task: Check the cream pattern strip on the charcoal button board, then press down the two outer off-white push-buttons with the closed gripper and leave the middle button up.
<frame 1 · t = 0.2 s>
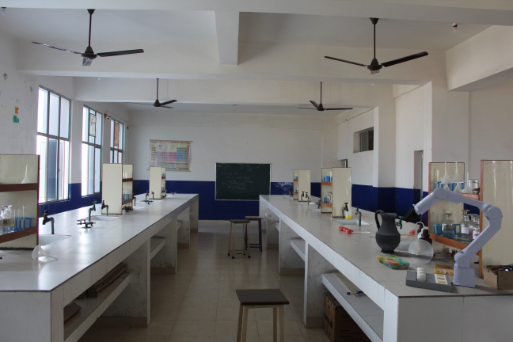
hand: (405, 220, 193), 31 cm above the table, tool tilted 45°, fingers open, 7 cm apart
puzzle game: (392, 265, 219), on the table
button 1: (421, 272, 189), point 4 cm above the table, slide at 0.0 cm
pitcher: (385, 252, 259), on the table
button middle: (421, 275, 183), point 4 cm above the table, slide at 0.0 cm
button 2: (421, 278, 177), point 4 cm above the table, slide at 0.0 cm
board: (427, 283, 182), on the table
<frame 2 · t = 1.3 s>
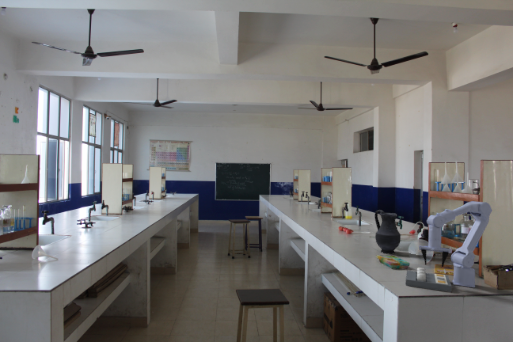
hand: (434, 265, 181), 10 cm above the table, tool pointing down, fingers open, 7 cm apart
nothing on the table moved.
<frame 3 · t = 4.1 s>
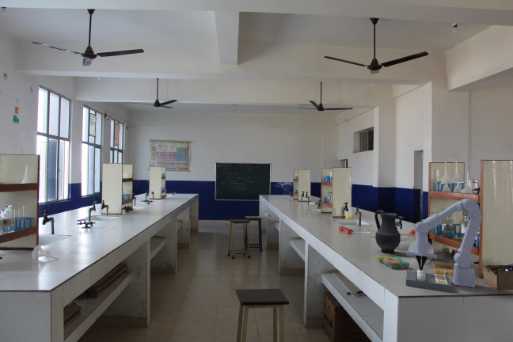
hand: (421, 270, 189), 5 cm above the table, tool pointing down, fingers closed, pressing on button 1
button 1: (421, 274, 189), point 3 cm above the table, slide at 1.0 cm, touching gripper
everything else where it was.
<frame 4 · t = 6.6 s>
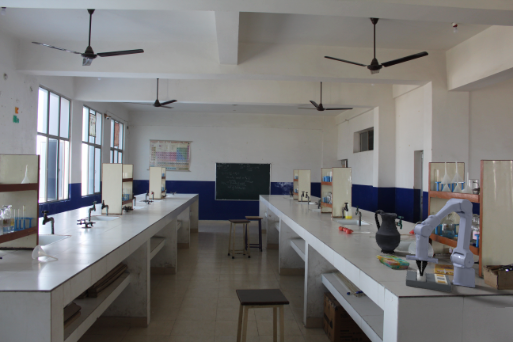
hand: (421, 275, 177), 5 cm above the table, tool pointing down, fingers closed, pressing on button 2
button 1: (421, 274, 189), point 3 cm above the table, slide at 1.0 cm
button 2: (421, 279, 177), point 3 cm above the table, slide at 0.7 cm, touching gripper
everything else where it was.
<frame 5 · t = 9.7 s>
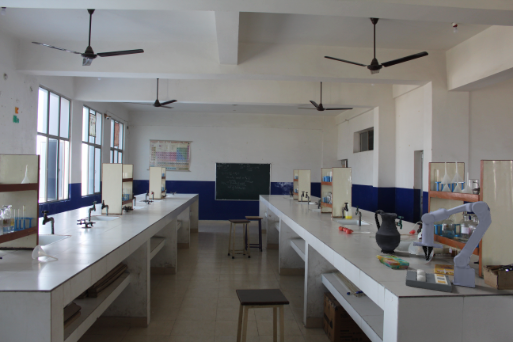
hand: (427, 260, 193), 9 cm above the table, tool pointing down, fingers closed
button 2: (421, 280, 177), point 3 cm above the table, slide at 1.0 cm
everything else where it was.
at the end: button 1 slide at 1.0 cm; button 2 slide at 1.0 cm; button middle slide at 0.0 cm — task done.
